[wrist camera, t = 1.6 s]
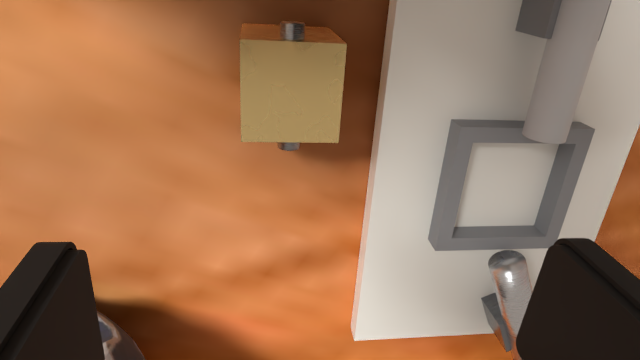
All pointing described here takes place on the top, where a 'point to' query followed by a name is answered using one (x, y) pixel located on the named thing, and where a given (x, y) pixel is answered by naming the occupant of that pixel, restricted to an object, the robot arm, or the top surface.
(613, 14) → the white fixture base plate
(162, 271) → the top surface
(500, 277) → the angled shaft
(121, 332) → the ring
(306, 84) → the block
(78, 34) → the top surface
